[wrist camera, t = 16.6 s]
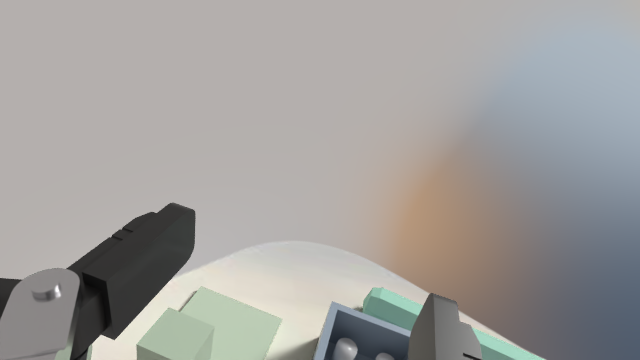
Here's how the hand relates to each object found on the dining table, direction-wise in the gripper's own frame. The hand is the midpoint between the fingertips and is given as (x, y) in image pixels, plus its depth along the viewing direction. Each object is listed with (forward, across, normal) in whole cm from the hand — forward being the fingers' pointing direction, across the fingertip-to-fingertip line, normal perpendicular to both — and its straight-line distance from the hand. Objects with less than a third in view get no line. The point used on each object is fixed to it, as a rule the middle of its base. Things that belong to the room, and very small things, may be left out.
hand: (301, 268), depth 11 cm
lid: (+11, +9, +27) cm, 30 cm away
